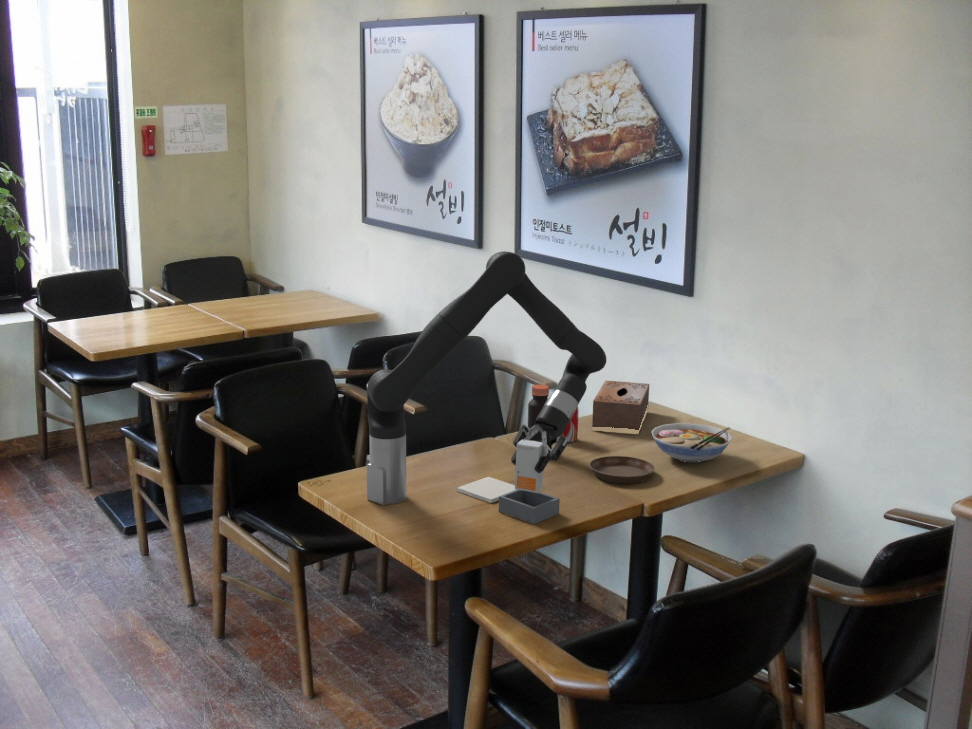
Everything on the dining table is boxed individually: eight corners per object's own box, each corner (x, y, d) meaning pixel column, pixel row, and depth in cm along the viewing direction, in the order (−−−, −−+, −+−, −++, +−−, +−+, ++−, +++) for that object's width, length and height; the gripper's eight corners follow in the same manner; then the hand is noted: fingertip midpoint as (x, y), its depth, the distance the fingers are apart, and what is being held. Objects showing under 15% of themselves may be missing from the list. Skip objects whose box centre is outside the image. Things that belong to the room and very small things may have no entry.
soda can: (578, 444, 323) (579, 405, 320) (554, 443, 323) (555, 405, 320) (576, 437, 329) (578, 399, 326) (553, 436, 329) (554, 398, 327)
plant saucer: (605, 461, 309) (605, 451, 308) (663, 472, 300) (664, 462, 299) (578, 479, 294) (578, 468, 293) (639, 491, 285) (639, 480, 285)
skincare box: (514, 489, 267) (515, 443, 264) (520, 484, 271) (521, 438, 268) (537, 493, 265) (539, 447, 262) (543, 488, 269) (544, 442, 266)
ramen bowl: (673, 440, 327) (674, 414, 325) (744, 456, 314) (746, 429, 312) (633, 462, 307) (635, 434, 306) (708, 479, 295) (710, 450, 293)
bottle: (555, 454, 313) (557, 387, 308) (536, 458, 309) (538, 391, 305) (541, 448, 319) (542, 382, 314) (522, 452, 315) (523, 385, 310)
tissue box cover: (638, 436, 332) (640, 404, 330) (591, 431, 336) (593, 400, 333) (647, 413, 356) (649, 383, 354) (604, 409, 360) (605, 380, 357)
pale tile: (490, 503, 275) (490, 499, 275) (457, 491, 283) (457, 487, 283) (521, 491, 284) (521, 487, 283) (488, 480, 291) (488, 476, 291)
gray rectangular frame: (534, 524, 262) (534, 508, 261) (498, 511, 270) (498, 496, 269) (559, 513, 269) (559, 498, 268) (523, 501, 276) (524, 486, 275)
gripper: (529, 398, 273) (496, 452, 267) (573, 410, 263) (541, 467, 258) (541, 414, 278) (510, 468, 272) (586, 426, 268) (554, 482, 263)
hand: (525, 467), depth 265 cm, fingers closed on skincare box, 7 cm apart
